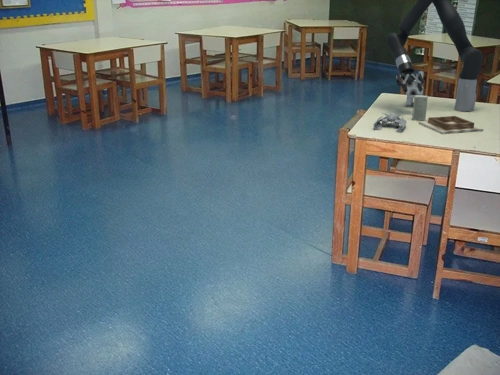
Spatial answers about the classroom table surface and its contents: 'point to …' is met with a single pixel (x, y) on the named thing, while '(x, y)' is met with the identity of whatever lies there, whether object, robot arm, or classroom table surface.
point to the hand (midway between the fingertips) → (413, 91)
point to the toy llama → (413, 91)
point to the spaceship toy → (390, 118)
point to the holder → (450, 125)
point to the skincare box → (419, 107)
